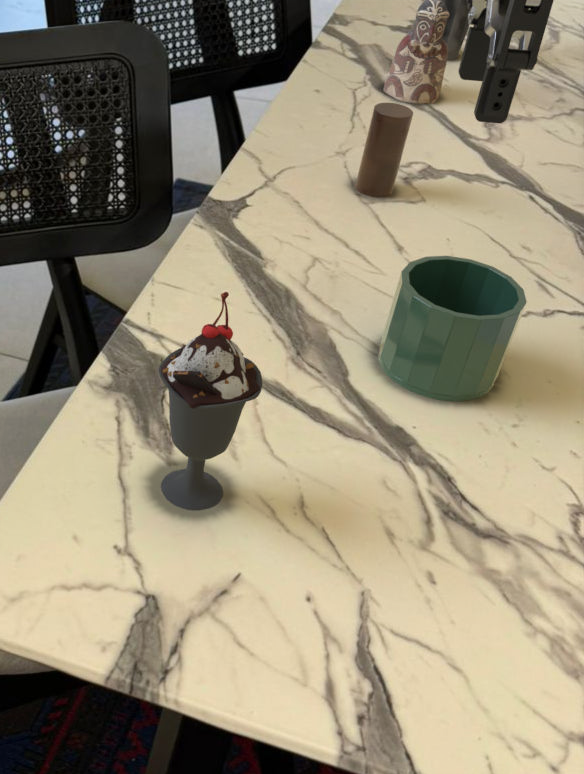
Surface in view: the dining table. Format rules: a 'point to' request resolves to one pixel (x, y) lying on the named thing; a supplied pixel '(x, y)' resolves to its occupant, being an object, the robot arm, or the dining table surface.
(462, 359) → the crock
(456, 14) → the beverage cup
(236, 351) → the sundae
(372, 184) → the pestle
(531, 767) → the dining table surface
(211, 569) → the dining table surface
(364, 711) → the dining table surface
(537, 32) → the robot arm
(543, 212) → the dining table surface
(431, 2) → the figurine
